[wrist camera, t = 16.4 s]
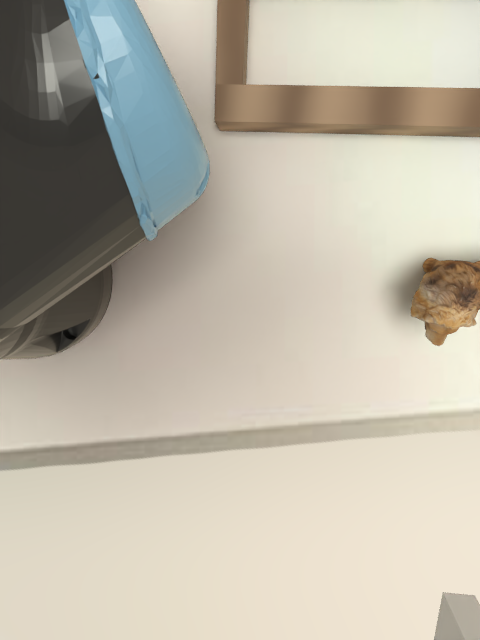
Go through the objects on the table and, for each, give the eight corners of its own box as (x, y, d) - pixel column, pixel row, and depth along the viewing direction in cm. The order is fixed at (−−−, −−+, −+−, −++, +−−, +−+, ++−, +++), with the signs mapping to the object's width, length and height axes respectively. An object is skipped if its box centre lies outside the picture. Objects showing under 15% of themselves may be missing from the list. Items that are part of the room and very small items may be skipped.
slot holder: (219, 130, 33) (214, 121, 30) (224, -42, 30) (219, -71, 27) (525, 138, 31) (551, 128, 28) (559, -44, 28) (592, -75, 25)
